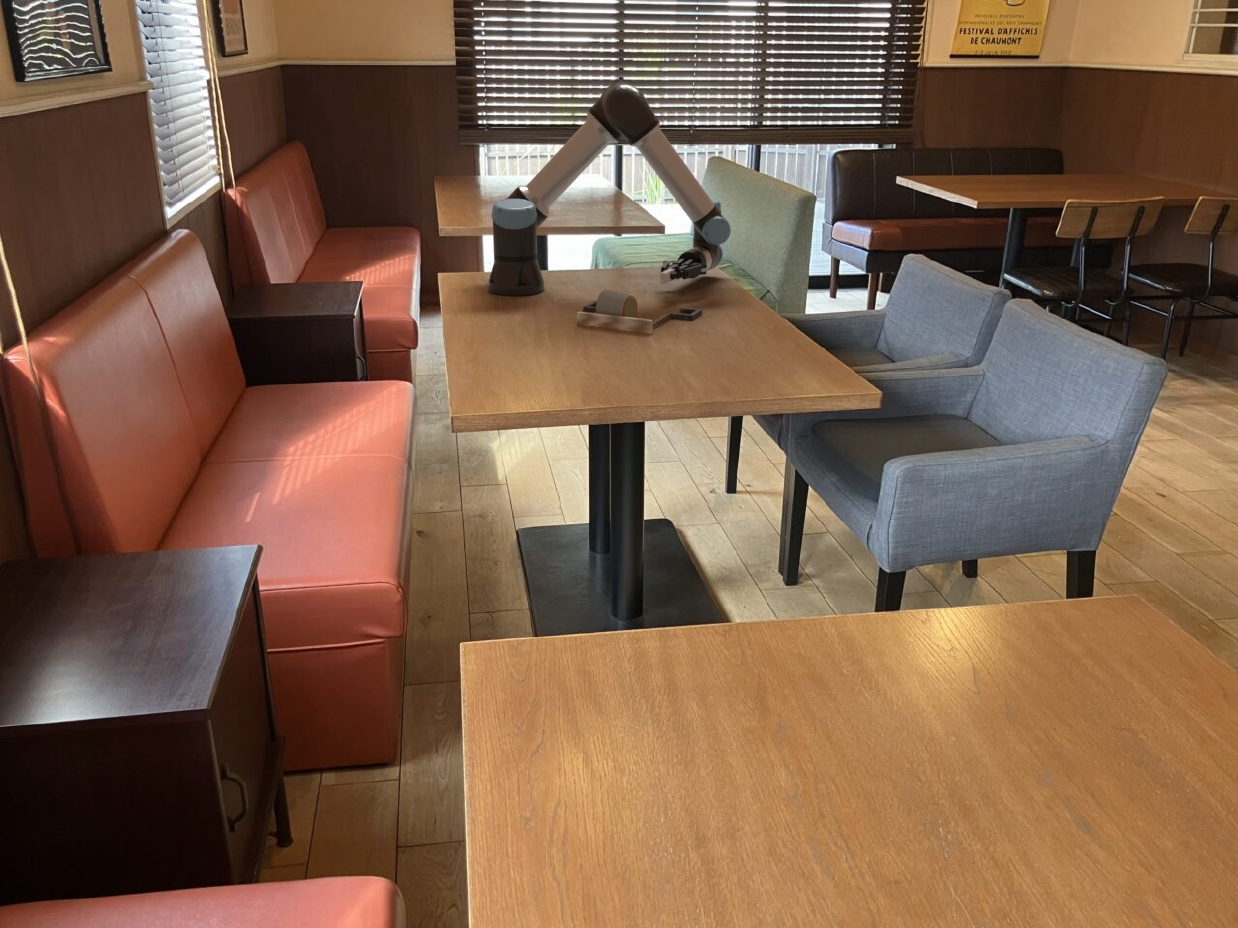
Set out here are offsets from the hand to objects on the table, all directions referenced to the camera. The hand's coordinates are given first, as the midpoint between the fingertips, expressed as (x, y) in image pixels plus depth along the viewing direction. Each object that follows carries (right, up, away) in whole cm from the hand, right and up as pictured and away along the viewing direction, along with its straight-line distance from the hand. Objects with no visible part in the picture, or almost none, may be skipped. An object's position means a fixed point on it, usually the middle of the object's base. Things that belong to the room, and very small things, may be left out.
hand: (663, 278), depth 267 cm
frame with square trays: (-8, -13, -15) cm, 21 cm away
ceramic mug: (-11, -14, -17) cm, 25 cm away
